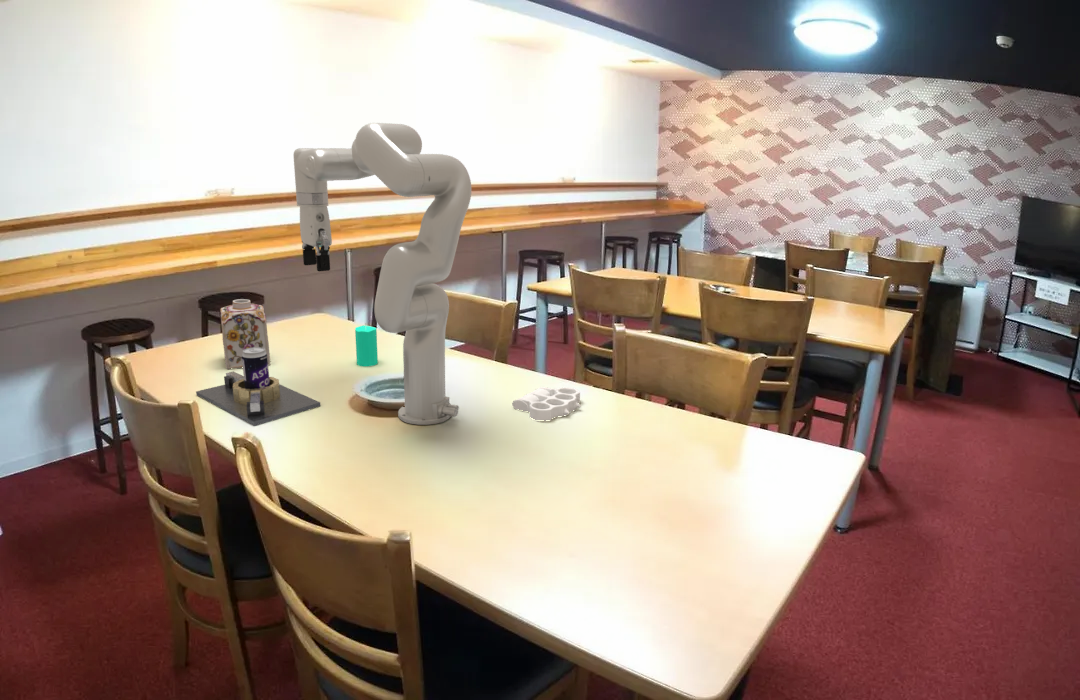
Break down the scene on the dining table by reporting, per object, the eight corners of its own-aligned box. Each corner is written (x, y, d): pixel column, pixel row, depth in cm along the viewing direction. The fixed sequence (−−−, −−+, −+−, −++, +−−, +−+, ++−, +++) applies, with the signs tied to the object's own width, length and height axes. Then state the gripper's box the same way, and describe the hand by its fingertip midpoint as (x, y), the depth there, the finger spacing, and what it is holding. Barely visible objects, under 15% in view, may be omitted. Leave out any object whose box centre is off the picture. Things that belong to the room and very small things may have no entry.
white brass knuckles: (543, 393, 184) (592, 405, 177) (504, 414, 169) (556, 428, 162) (543, 381, 183) (593, 392, 176) (504, 401, 168) (557, 414, 161)
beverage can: (253, 402, 168) (248, 355, 164) (241, 397, 171) (236, 350, 168) (275, 396, 172) (271, 350, 168) (263, 391, 175) (258, 345, 172)
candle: (354, 361, 204) (352, 321, 200) (375, 359, 206) (374, 319, 203) (358, 367, 199) (356, 326, 195) (380, 365, 201) (378, 324, 198)
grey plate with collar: (320, 406, 170) (319, 388, 168) (254, 425, 157) (252, 407, 156) (260, 379, 187) (259, 363, 185) (196, 395, 174) (194, 378, 173)
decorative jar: (224, 358, 203) (218, 297, 198) (267, 354, 208) (262, 295, 203) (225, 370, 193) (219, 306, 188) (270, 366, 198) (265, 303, 193)
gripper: (340, 202, 170) (343, 272, 175) (315, 196, 183) (319, 261, 188) (309, 203, 166) (314, 274, 171) (286, 197, 179) (290, 263, 184)
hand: (316, 267), depth 179 cm, fingers open, 9 cm apart
